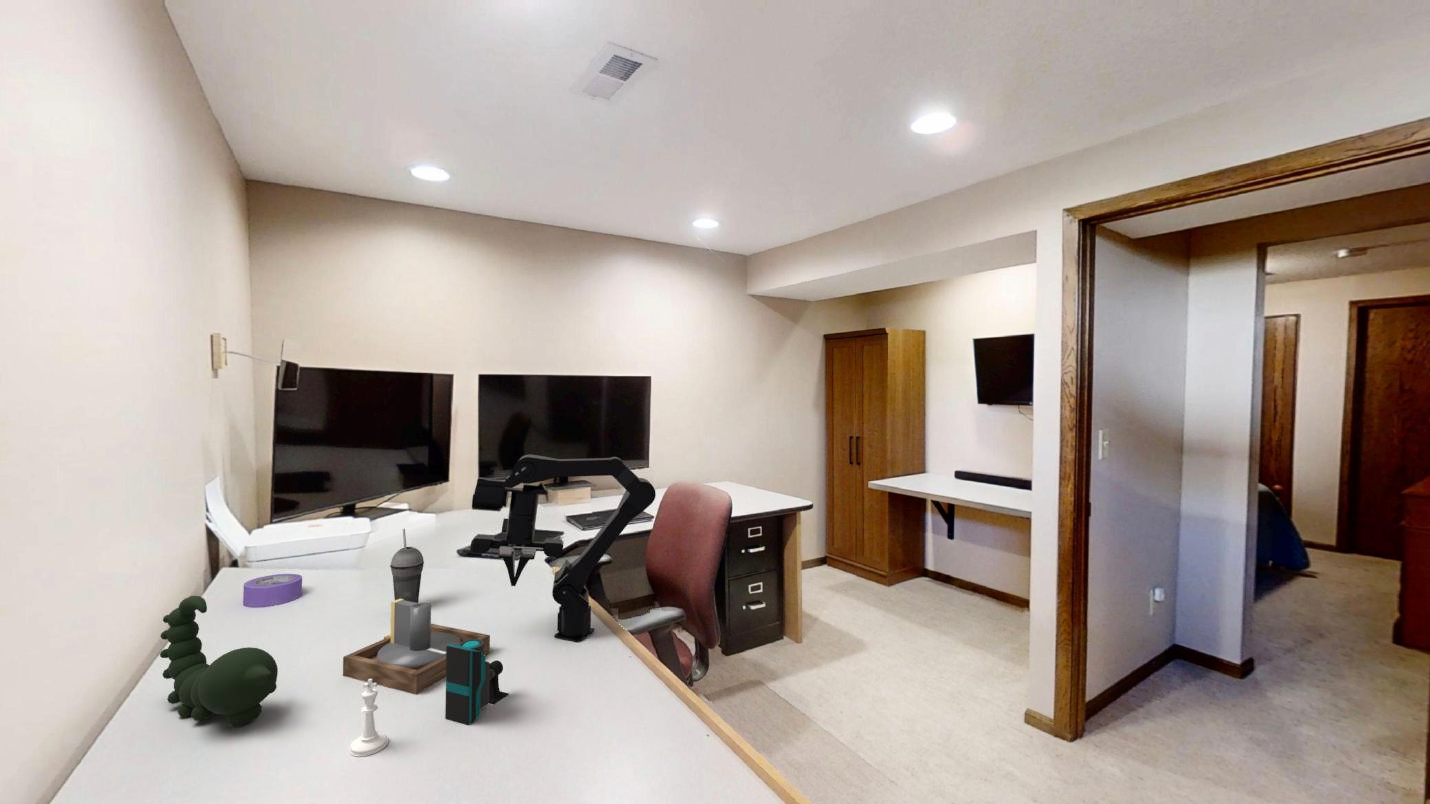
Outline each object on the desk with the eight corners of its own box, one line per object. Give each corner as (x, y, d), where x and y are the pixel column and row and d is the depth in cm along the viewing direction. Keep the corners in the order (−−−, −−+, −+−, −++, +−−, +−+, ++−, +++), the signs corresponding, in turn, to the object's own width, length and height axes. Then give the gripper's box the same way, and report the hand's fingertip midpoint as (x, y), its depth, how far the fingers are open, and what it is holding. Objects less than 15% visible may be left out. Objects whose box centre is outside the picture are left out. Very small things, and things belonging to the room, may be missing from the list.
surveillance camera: (514, 627, 99) (471, 651, 90) (513, 695, 99) (470, 726, 90) (488, 622, 101) (444, 645, 92) (487, 689, 101) (443, 718, 92)
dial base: (490, 651, 116) (490, 632, 116) (416, 694, 99) (416, 672, 99) (422, 637, 123) (423, 619, 123) (341, 675, 105) (342, 654, 105)
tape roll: (292, 589, 152) (292, 570, 152) (309, 598, 145) (309, 579, 145) (236, 601, 142) (236, 581, 142) (251, 612, 136) (252, 591, 136)
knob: (476, 647, 115) (477, 599, 115) (414, 678, 101) (415, 625, 101) (425, 634, 120) (425, 589, 120) (359, 662, 107) (360, 612, 107)
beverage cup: (408, 618, 133) (410, 533, 133) (381, 615, 134) (383, 531, 134) (430, 607, 140) (431, 526, 140) (404, 605, 141) (406, 525, 141)
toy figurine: (141, 723, 92) (236, 747, 83) (137, 603, 93) (231, 613, 83) (212, 695, 101) (305, 714, 91) (208, 585, 102) (300, 593, 92)
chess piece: (360, 737, 87) (361, 672, 87) (394, 736, 87) (395, 671, 87) (342, 757, 82) (343, 688, 82) (377, 756, 82) (378, 687, 82)
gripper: (567, 510, 133) (558, 577, 132) (482, 504, 128) (473, 573, 127) (566, 518, 122) (557, 591, 121) (474, 512, 117) (464, 588, 117)
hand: (513, 585), depth 122 cm, fingers closed
